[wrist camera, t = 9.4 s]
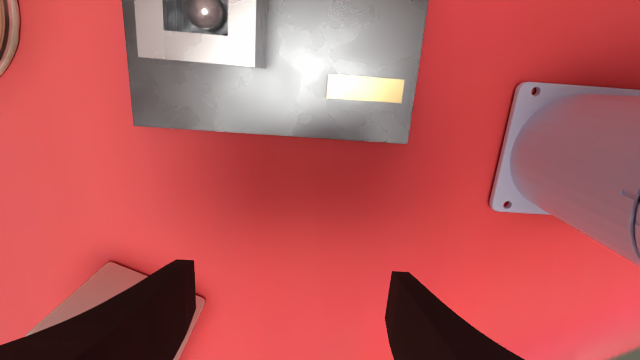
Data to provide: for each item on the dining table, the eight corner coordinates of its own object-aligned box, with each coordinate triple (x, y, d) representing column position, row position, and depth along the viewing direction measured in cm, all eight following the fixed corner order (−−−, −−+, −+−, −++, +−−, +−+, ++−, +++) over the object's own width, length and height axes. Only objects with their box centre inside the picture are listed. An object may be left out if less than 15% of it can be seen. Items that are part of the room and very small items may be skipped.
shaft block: (437, -91, 17) (467, -131, 14) (403, 141, 21) (420, 154, 17) (119, -119, 17) (69, -168, 13) (140, 123, 20) (105, 133, 17)
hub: (269, -39, 17) (257, -68, 14) (265, 68, 19) (254, 67, 15) (165, -49, 17) (128, -81, 13) (170, 60, 18) (138, 57, 15)
